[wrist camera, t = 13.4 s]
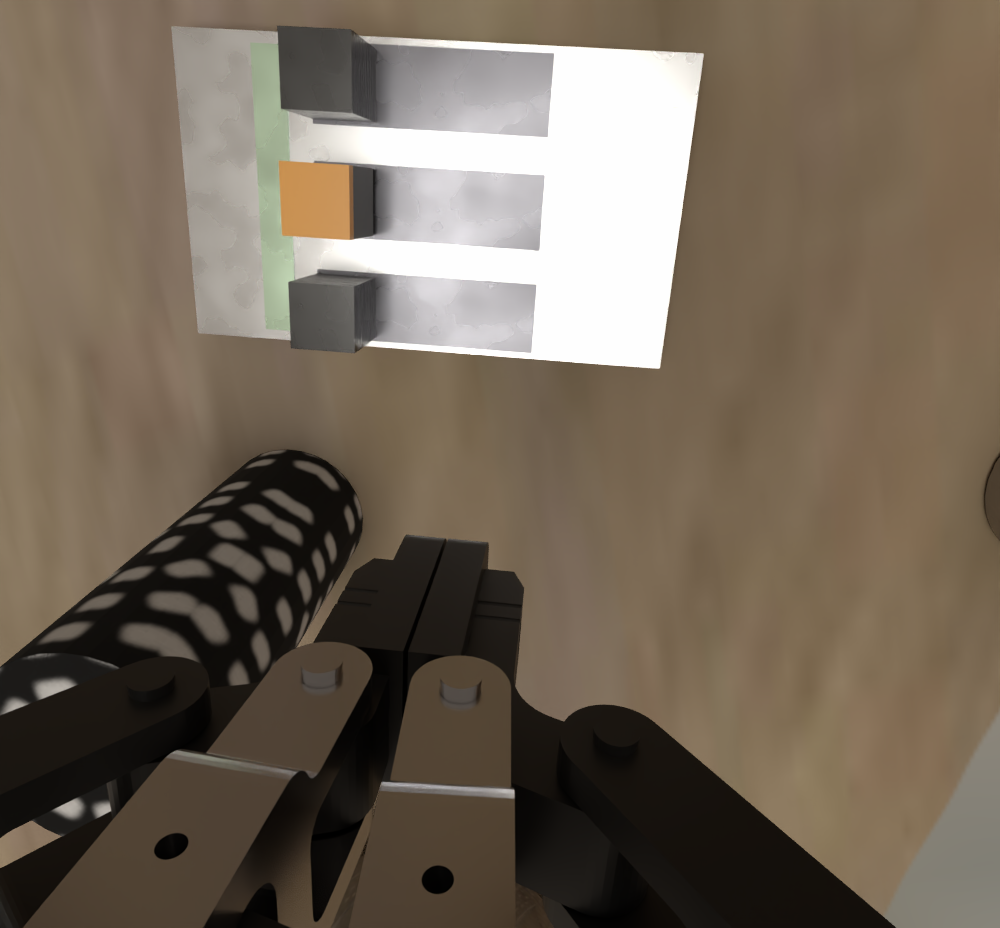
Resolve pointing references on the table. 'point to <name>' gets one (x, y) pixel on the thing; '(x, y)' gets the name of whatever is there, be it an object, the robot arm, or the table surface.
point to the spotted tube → (203, 593)
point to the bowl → (528, 905)
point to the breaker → (326, 200)
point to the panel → (439, 191)
